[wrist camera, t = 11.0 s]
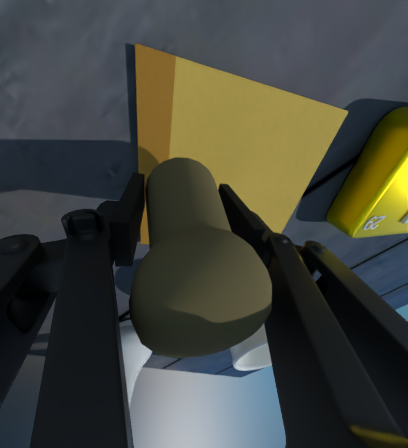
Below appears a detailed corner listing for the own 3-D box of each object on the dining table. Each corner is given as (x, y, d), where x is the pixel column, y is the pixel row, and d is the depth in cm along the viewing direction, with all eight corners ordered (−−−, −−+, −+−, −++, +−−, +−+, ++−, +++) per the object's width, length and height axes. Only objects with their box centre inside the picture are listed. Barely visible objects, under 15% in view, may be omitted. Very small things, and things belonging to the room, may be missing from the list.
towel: (272, 244, 26) (274, 246, 26) (141, 241, 21) (140, 244, 20) (344, 111, 17) (349, 111, 16) (135, 45, 11) (134, 42, 11)
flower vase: (115, 293, 26) (-72, 962, 5) (181, 326, 36) (200, 597, 16) (56, 326, 28) (-243, 912, 7) (135, 349, 38) (100, 615, 18)
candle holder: (218, 295, 32) (240, 376, 22) (203, 266, 26) (225, 357, 16) (265, 279, 32) (308, 352, 22) (260, 245, 26) (317, 325, 16)
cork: (229, 193, 15) (329, 318, 6) (182, 233, 16) (204, 381, 7) (181, 138, 11) (237, 230, 3) (128, 195, 13) (49, 376, 4)
